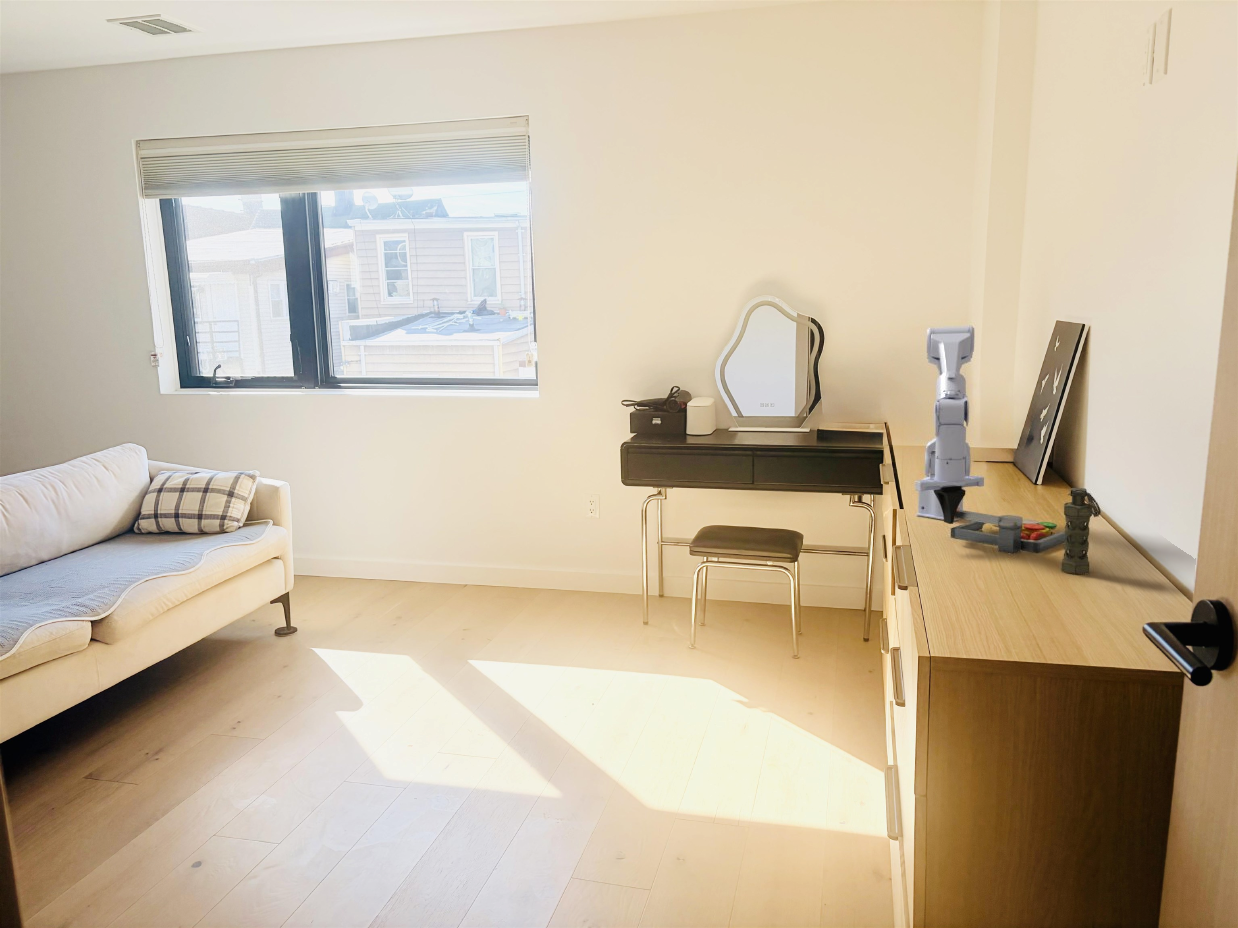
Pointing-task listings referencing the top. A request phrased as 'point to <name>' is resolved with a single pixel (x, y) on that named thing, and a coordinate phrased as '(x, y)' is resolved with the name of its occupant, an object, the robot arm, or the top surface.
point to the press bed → (1005, 538)
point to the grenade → (1078, 531)
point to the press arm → (992, 519)
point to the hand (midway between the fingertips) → (948, 522)
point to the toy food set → (1027, 529)
